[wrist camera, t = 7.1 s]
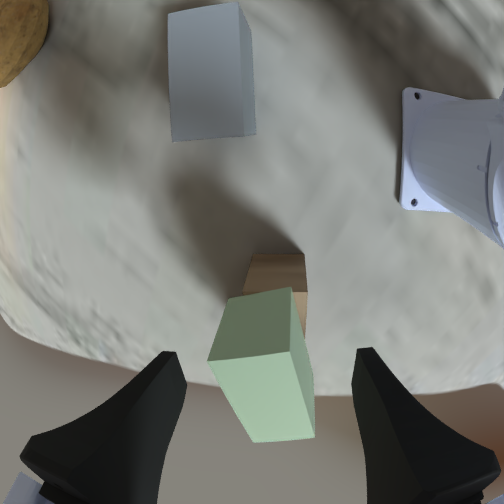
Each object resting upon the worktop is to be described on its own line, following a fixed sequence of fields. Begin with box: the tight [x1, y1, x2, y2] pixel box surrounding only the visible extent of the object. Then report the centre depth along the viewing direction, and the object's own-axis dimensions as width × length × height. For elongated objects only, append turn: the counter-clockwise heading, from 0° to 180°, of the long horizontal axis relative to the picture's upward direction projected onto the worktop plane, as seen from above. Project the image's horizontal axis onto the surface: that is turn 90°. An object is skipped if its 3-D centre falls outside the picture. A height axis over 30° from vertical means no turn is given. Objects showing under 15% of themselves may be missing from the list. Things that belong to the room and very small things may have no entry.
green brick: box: [207, 287, 315, 442], centre depth 15 cm, size 7×4×5 cm, turn 16°
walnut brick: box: [242, 254, 308, 339], centre depth 19 cm, size 7×4×5 cm, turn 3°
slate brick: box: [168, 2, 256, 142], centre depth 14 cm, size 7×4×5 cm, turn 2°
